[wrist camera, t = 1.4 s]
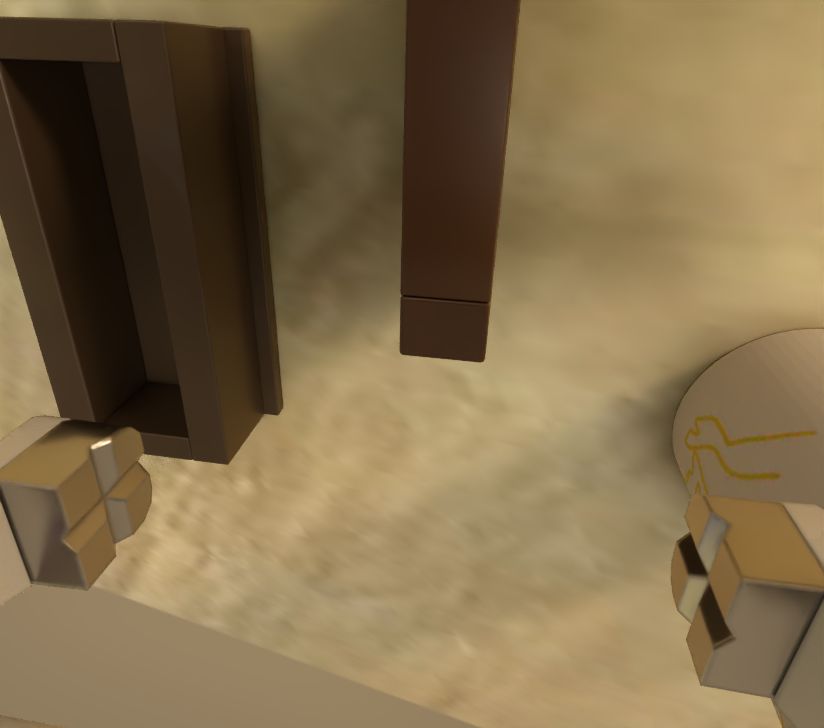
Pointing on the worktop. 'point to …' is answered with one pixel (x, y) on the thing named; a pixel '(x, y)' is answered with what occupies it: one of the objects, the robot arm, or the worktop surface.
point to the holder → (141, 225)
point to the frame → (453, 170)
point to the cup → (757, 425)
